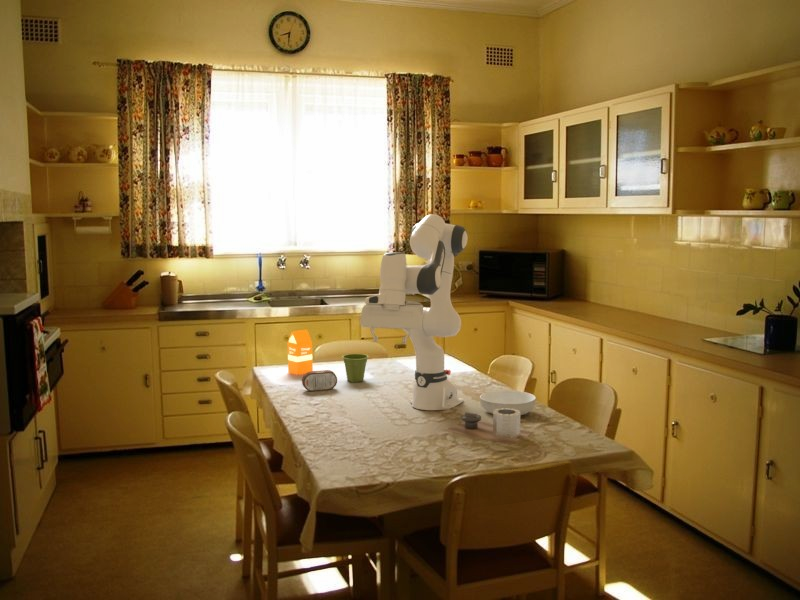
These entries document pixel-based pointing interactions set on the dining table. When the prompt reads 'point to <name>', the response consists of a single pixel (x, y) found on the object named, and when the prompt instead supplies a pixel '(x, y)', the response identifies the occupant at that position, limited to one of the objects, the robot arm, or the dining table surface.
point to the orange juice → (300, 352)
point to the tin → (319, 380)
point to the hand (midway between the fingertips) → (389, 342)
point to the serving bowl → (508, 401)
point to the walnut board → (485, 432)
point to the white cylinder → (506, 423)
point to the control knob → (471, 420)
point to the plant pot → (355, 366)
